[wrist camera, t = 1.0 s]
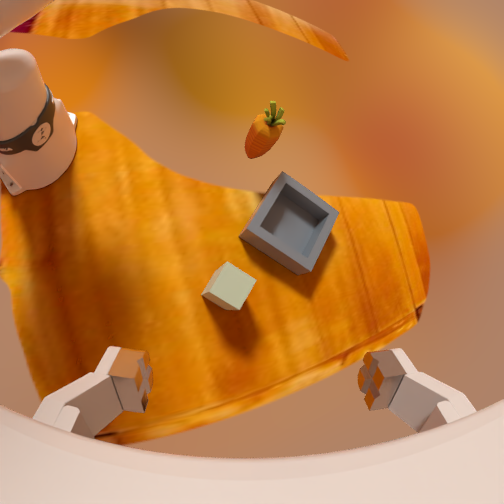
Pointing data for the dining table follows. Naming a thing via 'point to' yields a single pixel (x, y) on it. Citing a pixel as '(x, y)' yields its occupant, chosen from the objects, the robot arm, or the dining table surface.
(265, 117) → the carrot
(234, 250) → the dining table surface
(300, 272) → the gray open box
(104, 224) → the dining table surface
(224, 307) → the sage block
